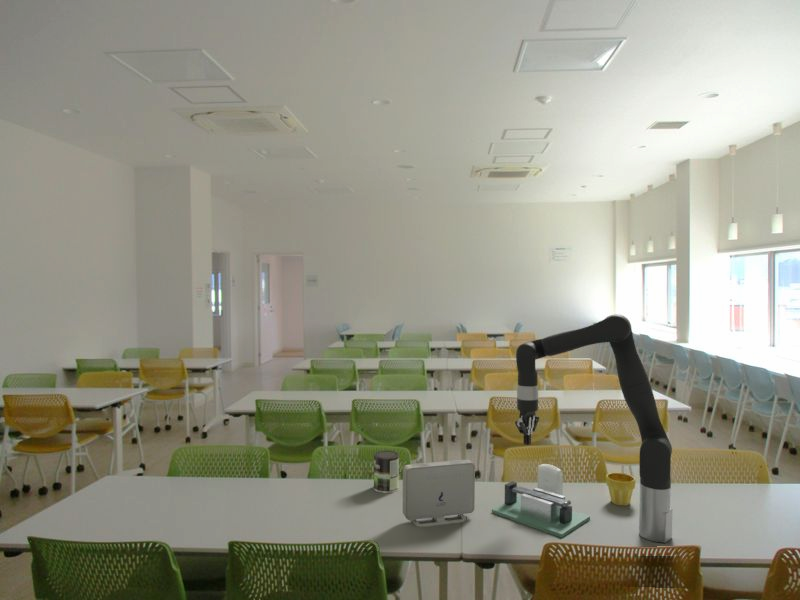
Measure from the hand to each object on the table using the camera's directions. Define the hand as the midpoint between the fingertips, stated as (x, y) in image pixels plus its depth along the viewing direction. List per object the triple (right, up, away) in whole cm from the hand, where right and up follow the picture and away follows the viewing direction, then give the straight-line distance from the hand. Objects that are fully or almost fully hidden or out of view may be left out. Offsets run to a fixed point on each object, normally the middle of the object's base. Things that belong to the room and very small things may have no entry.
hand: (527, 444), depth 203 cm
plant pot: (+38, -25, +10) cm, 46 cm away
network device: (-33, -25, -6) cm, 42 cm away
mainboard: (+4, -25, -3) cm, 26 cm away
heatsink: (+3, -24, -2) cm, 24 cm away
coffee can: (-52, -24, +23) cm, 62 cm away
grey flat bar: (+4, -19, -3) cm, 19 cm away
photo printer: (+12, -25, +15) cm, 32 cm away
